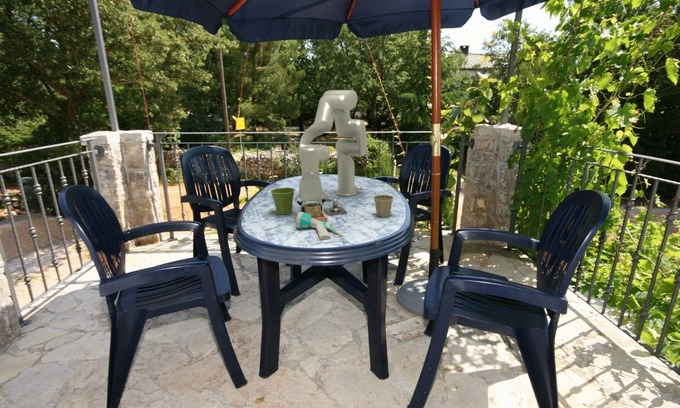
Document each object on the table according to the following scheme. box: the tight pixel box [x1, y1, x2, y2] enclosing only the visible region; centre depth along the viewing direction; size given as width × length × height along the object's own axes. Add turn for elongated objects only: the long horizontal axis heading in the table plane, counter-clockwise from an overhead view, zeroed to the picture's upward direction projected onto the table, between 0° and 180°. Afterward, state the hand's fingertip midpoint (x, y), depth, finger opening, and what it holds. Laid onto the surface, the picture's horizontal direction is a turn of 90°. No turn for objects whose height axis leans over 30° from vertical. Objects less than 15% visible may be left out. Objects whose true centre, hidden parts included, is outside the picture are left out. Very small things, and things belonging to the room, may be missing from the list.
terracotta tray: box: [296, 210, 328, 222], centre depth 159 cm, size 12×12×2 cm
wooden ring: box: [304, 202, 321, 216], centre depth 159 cm, size 7×7×4 cm
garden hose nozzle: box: [295, 211, 344, 241], centre depth 145 cm, size 7×18×20 cm
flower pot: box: [373, 194, 395, 218], centre depth 162 cm, size 9×9×9 cm
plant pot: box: [270, 187, 296, 216], centre depth 168 cm, size 12×12×11 cm
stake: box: [323, 198, 348, 216], centre depth 169 cm, size 9×9×6 cm
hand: (311, 213), depth 159 cm, fingers closed on wooden ring, 6 cm apart
